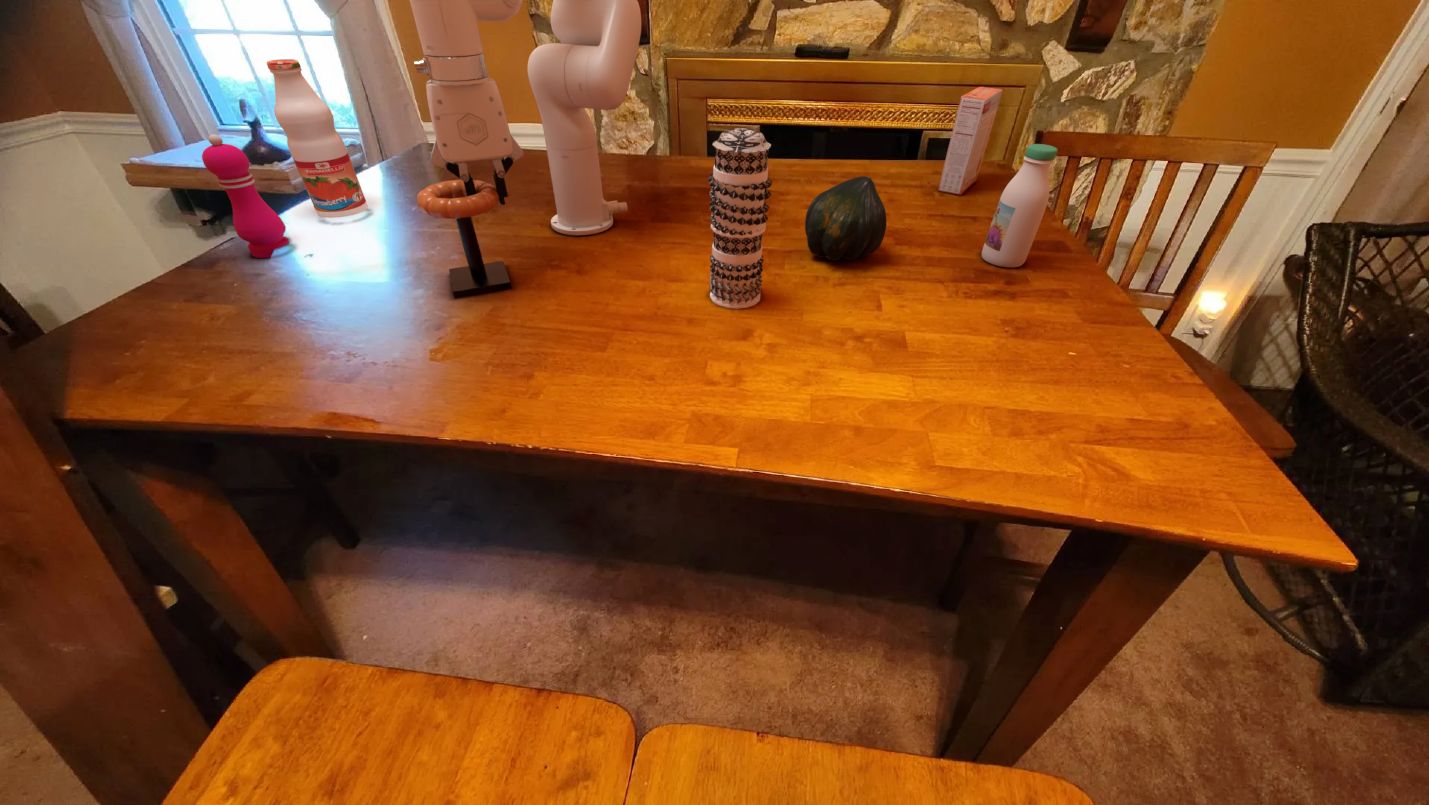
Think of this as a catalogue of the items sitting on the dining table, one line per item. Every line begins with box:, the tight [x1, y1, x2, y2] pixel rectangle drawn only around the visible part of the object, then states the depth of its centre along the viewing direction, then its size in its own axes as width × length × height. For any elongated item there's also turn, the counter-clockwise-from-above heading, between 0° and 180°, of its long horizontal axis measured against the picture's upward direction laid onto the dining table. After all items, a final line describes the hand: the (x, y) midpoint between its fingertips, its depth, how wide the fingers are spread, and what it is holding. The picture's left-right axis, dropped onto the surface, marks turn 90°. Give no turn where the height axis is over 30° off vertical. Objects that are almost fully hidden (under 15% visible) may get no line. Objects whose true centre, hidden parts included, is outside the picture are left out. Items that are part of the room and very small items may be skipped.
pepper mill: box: [201, 133, 290, 259], centre depth 96 cm, size 7×7×20 cm
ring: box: [416, 179, 500, 220], centre depth 85 cm, size 12×12×3 cm
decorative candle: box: [708, 127, 773, 310], centre depth 84 cm, size 9×9×25 cm
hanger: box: [448, 217, 512, 299], centre depth 90 cm, size 9×9×13 cm
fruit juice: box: [266, 58, 369, 219], centre depth 108 cm, size 9×9×28 cm
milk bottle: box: [980, 143, 1059, 268], centre depth 98 cm, size 8×8×20 cm
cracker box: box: [937, 86, 1003, 196], centre depth 131 cm, size 14×6×21 cm, turn 144°
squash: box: [804, 175, 888, 261], centre depth 101 cm, size 14×15×15 cm
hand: (489, 202), depth 87 cm, fingers closed on ring, 3 cm apart
